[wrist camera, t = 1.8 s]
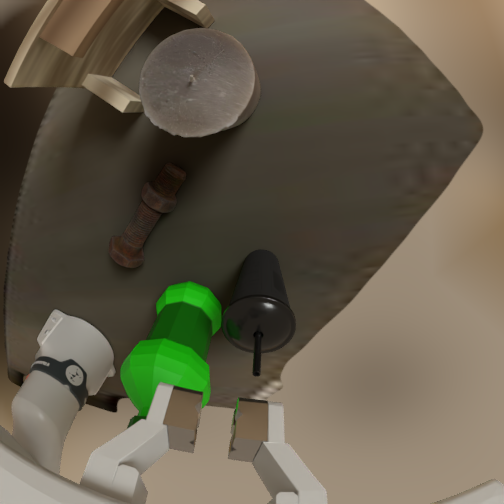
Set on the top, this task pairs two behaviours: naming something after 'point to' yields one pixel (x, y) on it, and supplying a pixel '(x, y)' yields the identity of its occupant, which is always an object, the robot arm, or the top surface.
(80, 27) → the cradle
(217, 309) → the plastic bottle
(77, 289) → the top surface
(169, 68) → the pillar candle
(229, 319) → the drinking cup
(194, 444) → the robot arm
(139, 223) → the bolt
